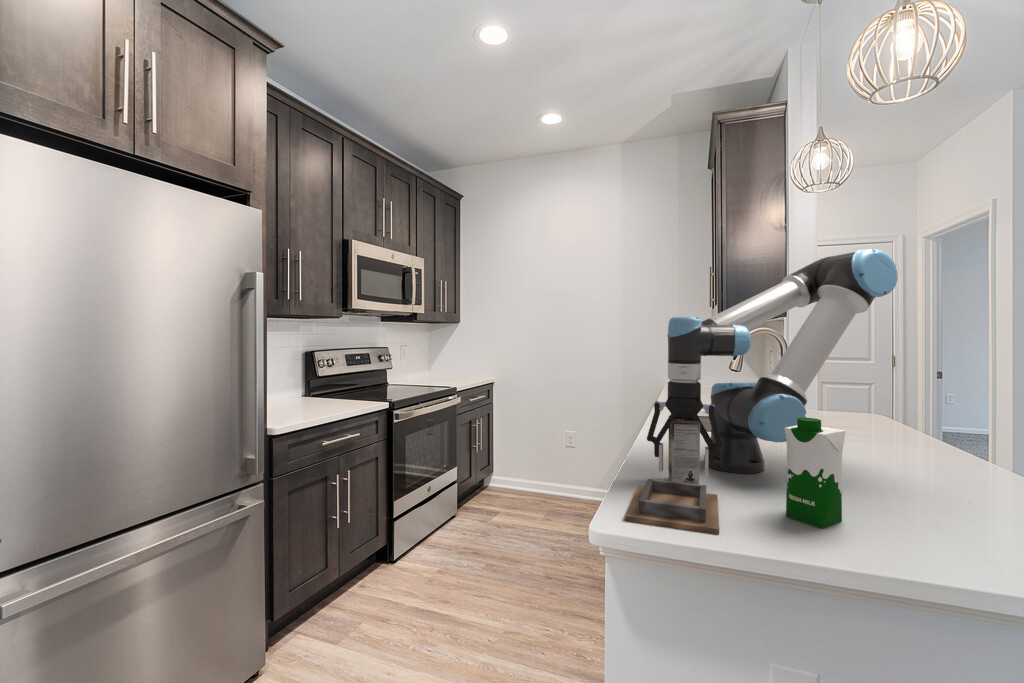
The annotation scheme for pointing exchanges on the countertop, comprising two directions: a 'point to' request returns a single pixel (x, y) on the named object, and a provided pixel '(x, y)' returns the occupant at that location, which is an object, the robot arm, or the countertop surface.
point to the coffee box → (684, 451)
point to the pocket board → (675, 506)
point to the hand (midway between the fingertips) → (683, 472)
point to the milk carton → (814, 473)
